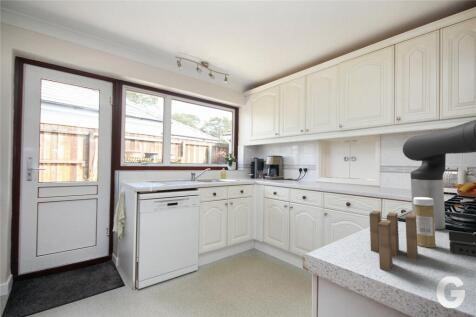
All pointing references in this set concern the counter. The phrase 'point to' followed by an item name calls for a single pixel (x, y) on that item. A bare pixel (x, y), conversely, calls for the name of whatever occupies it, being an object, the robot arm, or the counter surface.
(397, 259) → the counter surface
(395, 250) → the domino
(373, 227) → the end domino
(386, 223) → the domino
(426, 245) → the sprinkles bottle
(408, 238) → the domino
